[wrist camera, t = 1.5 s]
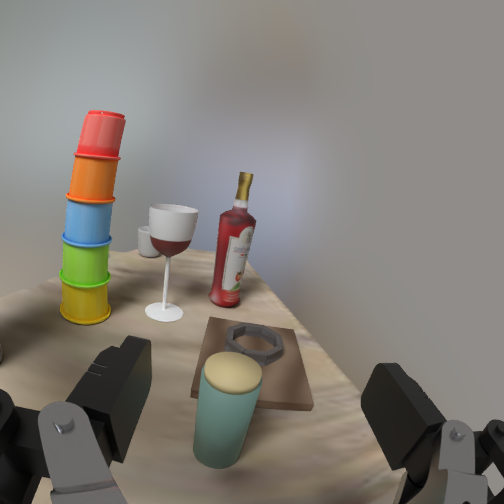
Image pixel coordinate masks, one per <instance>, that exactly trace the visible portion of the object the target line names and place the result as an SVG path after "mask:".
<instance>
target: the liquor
mask: <svg viewBox="0 0 504 504" xmlns="http://www.w3.org/2000/svg"><path fill="white" fill-rule="evenodd" d="M252 179H253V174H250V173H244V172H240V175H239V183H238V190H237V194H236V198H235V201H234V205H233V208H232V210H229V211H226V212H224V213H222V214H221V215H220V223H219V230H218V237H217V247H216V258H215V266H214V275H213V283H212V291H211V292H210V293H209V298H210V299H211V300H212V301H213V302H214V304H216V305H217V306H220V307H231V306H233V305H235V304H237V303H238V302H239V301H240V298H239V291H240V287H241V282H242V278H243V273H244V269H245V265H246V261H247V257H248V253H249V250H250V246H251V241H252V236H253V233H254V229H255V225H256V220H255V219H254V218H253V216H251V215H250V214H249V213H247V207H248V197H249V189H250V186H251V183H252Z"/></svg>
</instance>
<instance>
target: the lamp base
mask: <svg viewBox="0 0 504 504" xmlns="http://www.w3.org/2000/svg"><path fill="white" fill-rule="evenodd" d="M220 352H236V353H240V354H243V355H246V356H248V357H250V358H252V359H253V360H255V361H256V362H257V363H258V364H259V366H260V367H261V370H262V386H261V389H260V392H259V396H258V399H257V402H256V405H255V407H258V408H268V409H281V410H298V411H311V409H312V407H313V404H314V403H313V399H312V395H311V391H310V388H309V384H308V380H307V376H306V373H305V369H304V365H303V362H302V358H301V354H300V351H299V347H298V344H297V340H296V336H295V333H294V330H293V329H285V328H278V327H270V326H264V325H258V324H252V323H244V322H238V321H232V320H226V319H221V318H215V317H209V321H208V325H207V329H206V332H205V336H204V340H203V344H202V348H201V352H200V356H199V360H198V364H197V368H196V372H195V376H194V380H193V384H192V388H191V397H192V398H197V399H198V397H199V388H200V380H201V372H202V368H203V366H204V365H205V362H206V360H207V359H208V358H209V357H210V356H212V355H213V354H216V353H220Z"/></svg>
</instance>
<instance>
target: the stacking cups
mask: <svg viewBox="0 0 504 504" xmlns="http://www.w3.org/2000/svg"><path fill="white" fill-rule="evenodd" d="M101 112H103V114H101ZM124 117H125V116H124V115H122V114H119V113H115V112H109V111H100V110H91V111H89V112H88V114H87V115H86V116H85V119H84V123H83V127H82V131H81V135H80V140H79V144H78V149H77V153H74V155H75V161H74V167H73V172H72V179H71V184H70V191H69V193H67V194H66V198H67V199H68V203H67V211H66V222H65V232H64V233H63V234H62V236H61V238H62V240H63V268H62V270H60V272H59V277H60V279H61V280H62V299H63V302H62V303H61V305H60V312H61V314H62V316H63V317H64V318H65V319H67V320H69V321H71V322H73V323H76V324H82V325H90V324H96V323H99V322H102V321H104V320H105V319H107V318H108V317H109V315H110V313H111V307H110V305H109V304H108V303H107V283H108V282H109V281H110V279H111V275H110V273H109V272H108V252H109V244H110V243H111V241H112V238H111V236H110V235H109V232H110V221H111V213H112V204H113V202H114V201H115V197H113V190H114V183H115V176H116V171H117V164H118V160H120V159H121V158H120V157H118V154H119V149H120V144H121V139H122V135H123V130H124V126H125V122H126V121H125V119H124Z"/></svg>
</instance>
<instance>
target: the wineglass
mask: <svg viewBox="0 0 504 504" xmlns="http://www.w3.org/2000/svg"><path fill="white" fill-rule="evenodd" d="M198 212H199V211H198V210H196V209H194V208H189V207H185V206H179V205H170V204H153V205H151V206H150V214H149V231H150V240H151V244H152V246H153V247H154V248H155V249H156V250H157V251H158V252H160V253H162V254H163V255H165V256H166V267H165V279H164V291H163V303H161V302H160V303H153V304H150V305H148V306H147V307H146V309H145V312H146V314H147V315H148V316H149V317H150V318H152V319H155V320H158V321H163V322H170V321H176V320H178V319H180V318H181V317H182V316H183V311H182V310H181V309H180V308H179V307H177V306H176V305H173V304H169V303H167V291H168V279H169V268H170V258H171V257H172V256H174V255H177V254H179V253H181V252H183V251H184V250H186V249H187V247H188V246H189V244H190V242H191V239H192V237H193V234H194V230H195V227H196V222H197V218H198Z"/></svg>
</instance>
